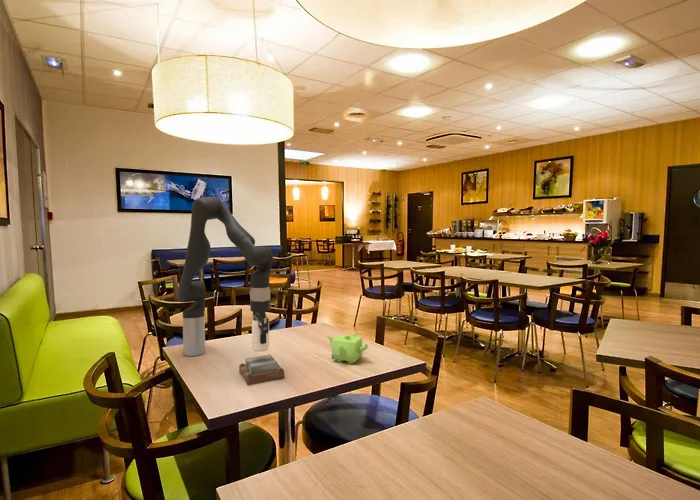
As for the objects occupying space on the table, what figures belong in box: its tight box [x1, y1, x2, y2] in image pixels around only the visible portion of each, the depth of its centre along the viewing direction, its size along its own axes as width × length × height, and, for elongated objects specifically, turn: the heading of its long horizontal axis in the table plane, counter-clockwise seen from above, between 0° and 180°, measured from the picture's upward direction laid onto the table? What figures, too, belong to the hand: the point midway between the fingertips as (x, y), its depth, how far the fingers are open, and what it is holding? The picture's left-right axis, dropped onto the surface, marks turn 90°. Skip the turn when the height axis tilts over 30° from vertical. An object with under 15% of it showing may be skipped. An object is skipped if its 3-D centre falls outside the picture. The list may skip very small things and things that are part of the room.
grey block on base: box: [238, 354, 285, 386], centre depth 150 cm, size 14×14×6 cm
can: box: [251, 317, 270, 352], centre depth 149 cm, size 6×6×12 cm
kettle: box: [326, 332, 369, 365], centre depth 167 cm, size 15×14×11 cm
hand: (260, 340), depth 149 cm, fingers closed on can, 6 cm apart
